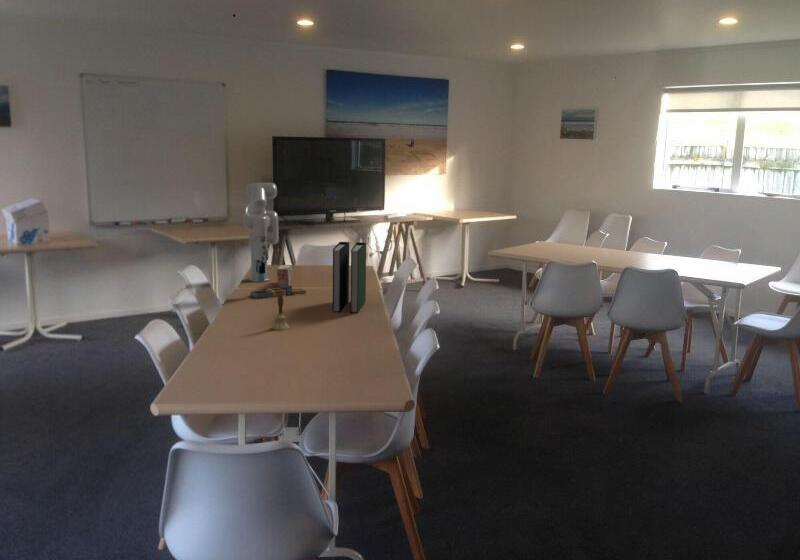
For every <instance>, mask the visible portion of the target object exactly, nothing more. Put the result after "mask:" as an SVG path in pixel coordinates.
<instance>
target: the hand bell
mask: <svg viewBox="0 0 800 560" xmlns="http://www.w3.org/2000/svg"><path fill="white" fill-rule="evenodd" d="M277 305H278V315H276V316H275V318H274V323H273V324H272V326H271V330H274V331H286V329H287V330H289V329H291V327H290V325H289V324H288V323H287V320H286V319H287V317H286V316H285V315H283V313H284V312H283V306H284V296H282V294H279V296H278V297H277Z"/></svg>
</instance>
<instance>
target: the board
mask: <svg viewBox="0 0 800 560" xmlns="http://www.w3.org/2000/svg"><path fill="white" fill-rule="evenodd" d="M304 293H306V294H307V291H306V289H303V288H302V287H292V295H291V296H296V295H295V294H300V295H305V294H304Z"/></svg>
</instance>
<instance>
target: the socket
mask: <svg viewBox="0 0 800 560" xmlns="http://www.w3.org/2000/svg"><path fill="white" fill-rule="evenodd" d="M266 290H267V291H269V292H271V293H272V297H271V298H276V297H275V296H279V294H282V296H283V295H286V290H284V289H282V288H278V287H274V288H266ZM286 296H287V295H286ZM283 297H284V296H283Z"/></svg>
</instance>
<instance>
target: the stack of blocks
mask: <svg viewBox="0 0 800 560" xmlns="http://www.w3.org/2000/svg"><path fill="white" fill-rule="evenodd" d="M276 270H277V288H281V284H288V285H290V286H292V284H293V267H291V265H290V264H288V265H287V264H286V265H285V264H284V265H283V264H280V265H279V266H278V267H277V269H276Z"/></svg>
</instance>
